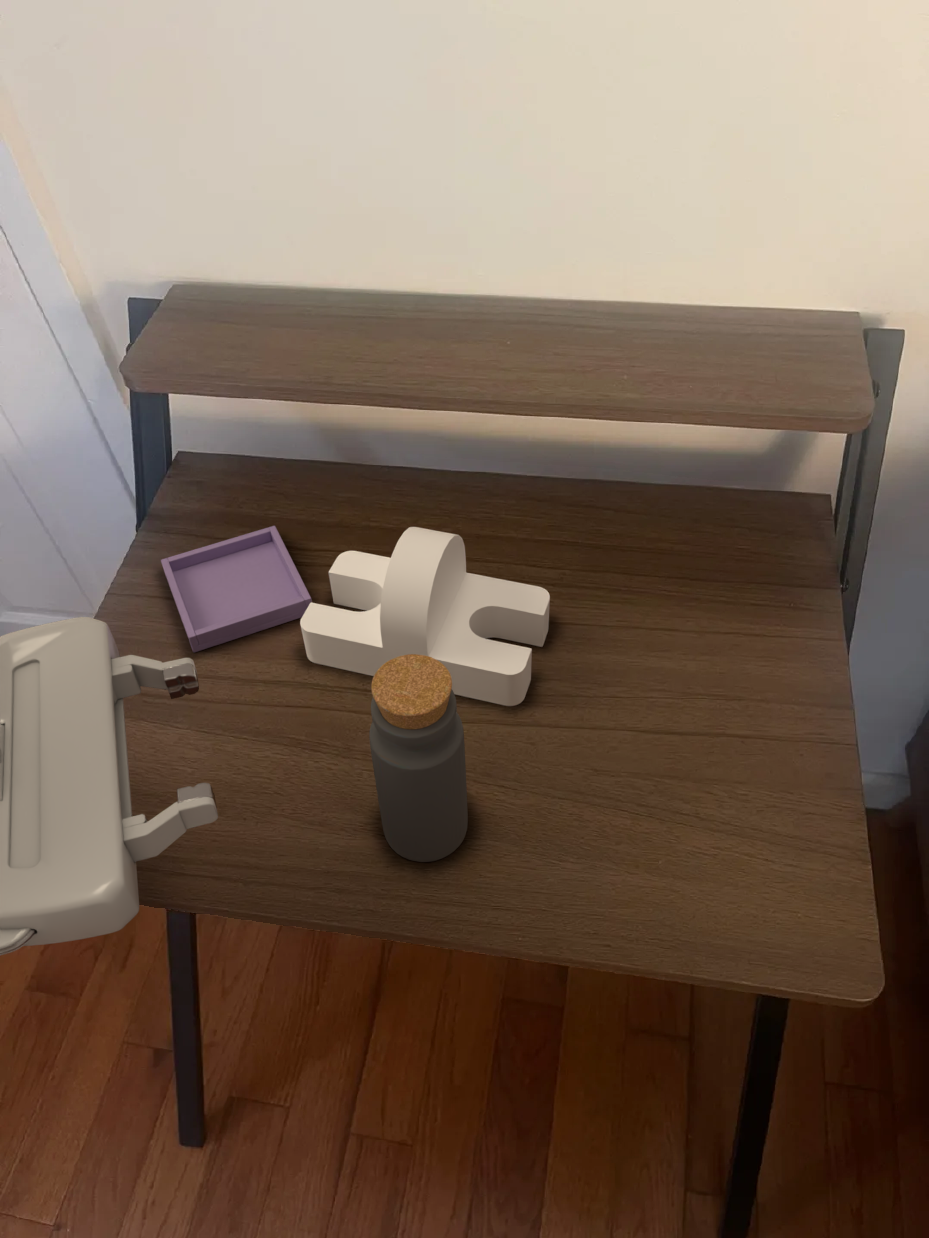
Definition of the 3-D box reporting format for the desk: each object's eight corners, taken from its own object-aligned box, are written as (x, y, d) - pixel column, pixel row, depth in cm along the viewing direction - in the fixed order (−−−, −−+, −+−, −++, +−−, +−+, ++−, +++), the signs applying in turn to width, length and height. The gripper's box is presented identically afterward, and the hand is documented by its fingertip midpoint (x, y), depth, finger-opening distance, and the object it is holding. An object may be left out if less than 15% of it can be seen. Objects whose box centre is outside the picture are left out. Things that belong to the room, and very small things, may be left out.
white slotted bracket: (520, 708, 76) (522, 614, 69) (301, 660, 81) (281, 565, 73) (551, 620, 83) (556, 525, 76) (347, 579, 87) (332, 485, 80)
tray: (193, 653, 81) (188, 637, 80) (165, 574, 88) (160, 559, 87) (314, 613, 84) (311, 598, 83) (278, 540, 91) (274, 525, 89)
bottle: (484, 813, 70) (480, 670, 59) (437, 878, 67) (424, 738, 56) (414, 777, 72) (399, 632, 62) (366, 837, 69) (340, 696, 58)
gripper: (-89, 939, 46) (215, 859, 49) (-61, 628, 60) (176, 577, 62) (-36, 997, 51) (239, 921, 53) (-21, 696, 64) (198, 646, 67)
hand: (205, 734), depth 58 cm, fingers open, 8 cm apart
